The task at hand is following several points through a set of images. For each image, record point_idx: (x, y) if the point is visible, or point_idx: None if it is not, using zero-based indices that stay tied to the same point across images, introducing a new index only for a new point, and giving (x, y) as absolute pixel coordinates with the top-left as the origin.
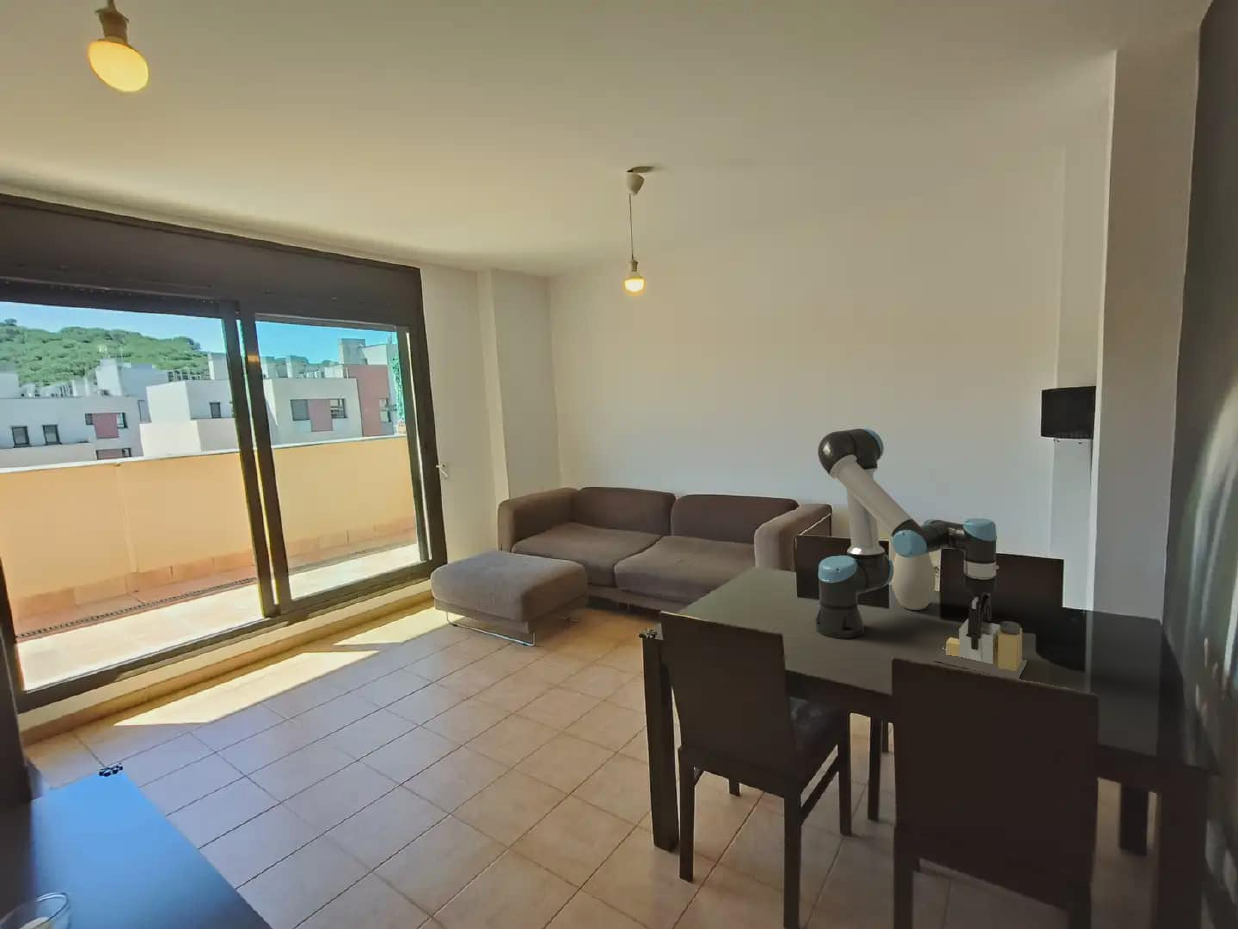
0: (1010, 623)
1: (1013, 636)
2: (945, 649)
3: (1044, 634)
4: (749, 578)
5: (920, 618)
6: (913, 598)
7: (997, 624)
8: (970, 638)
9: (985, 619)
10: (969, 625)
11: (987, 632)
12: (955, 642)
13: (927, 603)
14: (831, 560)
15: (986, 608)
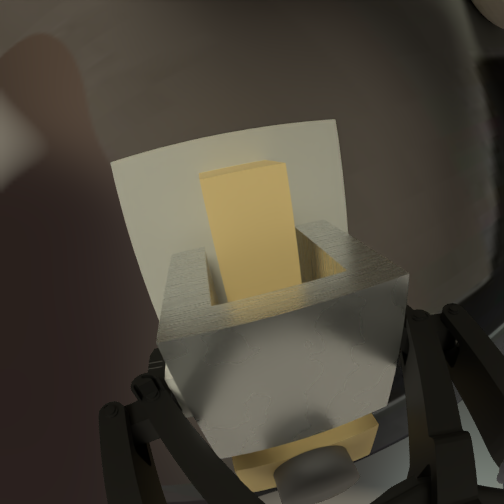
0: (335, 487)
1: (262, 486)
2: (260, 140)
3: (490, 291)
4: None
5: (446, 9)
6: None
7: (386, 399)
8: (166, 374)
9: (407, 369)
10: (106, 472)
11: (245, 438)
12: (232, 219)
13: (502, 25)
14: None
15: (411, 466)
